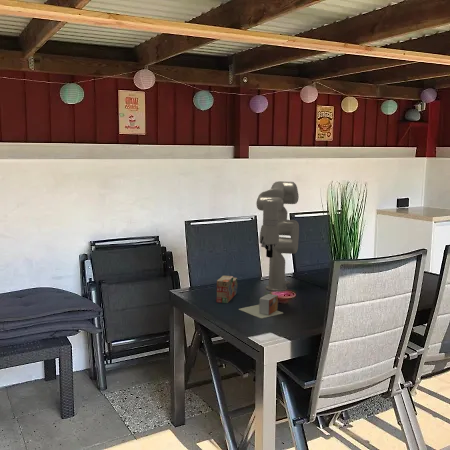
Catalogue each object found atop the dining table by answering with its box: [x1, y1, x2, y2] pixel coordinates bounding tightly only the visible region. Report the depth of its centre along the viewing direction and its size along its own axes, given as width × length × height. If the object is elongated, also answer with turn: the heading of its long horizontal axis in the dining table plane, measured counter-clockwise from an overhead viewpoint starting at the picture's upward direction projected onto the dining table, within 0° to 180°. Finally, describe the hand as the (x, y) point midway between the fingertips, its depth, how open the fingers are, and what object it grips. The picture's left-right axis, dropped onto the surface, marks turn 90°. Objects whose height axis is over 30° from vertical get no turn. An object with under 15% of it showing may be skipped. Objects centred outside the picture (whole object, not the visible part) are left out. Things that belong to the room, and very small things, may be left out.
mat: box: [238, 304, 284, 320], centre depth 259 cm, size 15×18×1 cm
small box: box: [258, 293, 279, 315], centre depth 257 cm, size 8×6×10 cm
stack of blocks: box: [216, 275, 238, 304], centre depth 282 cm, size 21×6×12 cm, turn 164°
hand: (269, 257), depth 264 cm, fingers closed
